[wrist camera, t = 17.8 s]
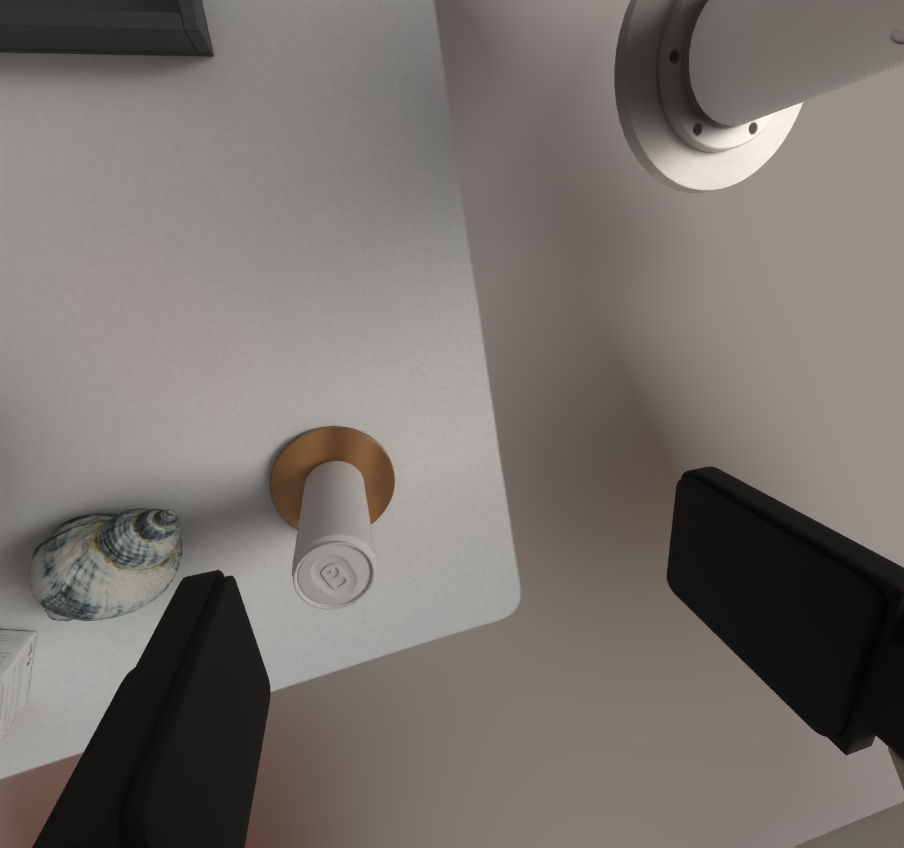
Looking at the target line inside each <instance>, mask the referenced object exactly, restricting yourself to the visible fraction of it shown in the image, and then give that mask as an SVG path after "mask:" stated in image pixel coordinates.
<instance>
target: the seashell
mask: <svg viewBox="0 0 904 848" xmlns="http://www.w3.org/2000/svg"><path fill="white" fill-rule="evenodd" d="M181 556H182V541H181V539H180V524H179V521H178V518H177V513H176V512H175V511H174V510H161V509H152V510H150V509H131V510H127V511H124V512H121V513H119V514H117V515H116V516H114V515H104V514H96V515H85V516H81V517H78V518H75V519H72V520H70V521H68V522H66V523H64V524H63V525H61V526H60V528H58V529H56V530H55V531H54V532H53V533H52V534H51V536H49V537H48V538H47V539H46V541H44V542H43V543H41V544H40V545H39V546H38V547H37V548H36V549H35V551H34V554H33V557H32V562H31V565H30V573H29V577H30V584H31V588H32V591H33V594H34V596H35V598H36V599H37V600H38V601H39V602H40V603H41V605H42V606H43V607H44V608H45V611H46V613H47V615H48V617H50V618H51V619H53V620H58V621H70V620H73V619H77V620H82V621H95V620H102V619H109V618H113V617H117V616H122V615H124V614H127V613H130V612H133V611H135V610H137V609H139V608H142V607H143V606H144V605H146V604H148V603H149V602H151V601H153V600H154V599H155V598H157V597H158V596H159V595H160V594H161V593H163V592H164V591H165V589H166V588H167V587H168V586H169V585H170V583H171V582H172V580H173V578H174V576H175V574H176V572H177V570H178V567H179V564H180V559H181Z"/></svg>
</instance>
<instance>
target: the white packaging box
mask: <svg viewBox="0 0 904 848" xmlns="http://www.w3.org/2000/svg"><path fill="white" fill-rule="evenodd" d="M35 639H36V632H32V631H13V630H0V738H1V737H2V735H3V734H4V733H5V731H6V730H7V729H8V727H9V726H10V725H11V723H12V722H13V720H14V719H15V718H16V716H17V715H18V713H19V712H20V711H21V709H22V708H23V706H24V705H25V703H26V702H27V695H28V689H29V682H30V675H31V668H32V661H33V653H34V647H35Z"/></svg>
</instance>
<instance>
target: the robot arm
mask: <svg viewBox="0 0 904 848" xmlns="http://www.w3.org/2000/svg"><path fill="white" fill-rule="evenodd" d="M903 64H904V0H677V2H676V3H675V5H674V7H673V8H672V10H671V12H670V15H669V17H668V20H667V22H666V25H665V27H664V30H663V34H662V39H661V43H660V47H659V55H658V65H657V73H658V88H659V94H660V100H661V104H662V107H663V109H664V112H665V115H666V118H667V120H668V121H669V123H670V125H671V127H672V128H673V130H674V131H675V132H676V134H677V135H678V136H679V137H680V138H681V139H682V140H683V141H684V142H685V143H687V144H688V145H690V146H691V147H692V148H695V149H698V150H700V151H703V152H711V153H717V152H723V151H728V150H731V149H734V148H737V147H740V146H742V145H744V144H745V143H747V142H749V141H751V140H752V139H754V138H755V137H756V136H757V135H758V134H760V133H761V132H762V131H763V130H764V129H765V128H766V127H767V125H768V124H769V123H770V122H771V121H772V120H773V118H774V117H775V115H776V113H777V112H778V111H780V110H782V109H785V108H788V107H790V106H793V105H796V104H799V103H801V102H804V101H806V100H809V99H812V98H814V97H817V96H820V95H823V94H825V93H828V92H830V91H833V90H836V89H839V88H841V87H844V86H847V85H849V84H852V83H855V82H857V81H860V80H863V79H865V78H868V77H871V76H873V75H876V74H879V73H881V72H884V71H887V70H889V69H892V68H895V67H897V66H900V65H903ZM667 581H668V584H669V586H670V588H671V590H672V591H673V592H674V594H675V595H676V596H677V597H678V598H680V599H681V600H682V601H683V602H684V603H685V604H686V605H687V606H688V607H689V608H690V609H691V610H692V611H693V612H694V613H695V614H696V615H697V616H698V617H699V618H700V619H701V620H702V621H703V622H704V623H705V624H706V625H707V626H708V627H709V628H710V629H711V630H712V631H713V632H714V633H715V634H716V635H717V636H718V637H719V638H720V639H721V640H722V641H723V642H724V643H725V644H726V645H727V646H728V647H729V648H730V649H731V650H733V652H734V653H735V654H736V655H737V656H738V657H740V659H742V661H744V662H745V663H746V664H747V665H748V666H749V667H750V668H751V669H752V670H753V671H754V672H755V673H756V674H757V675H758V676H759V677H760V678H761V679H762V680H763V681H764V682H765V683H766V684H767V685H768V686H769V687H770V688H771V689H772V690H773V691H774V692H775V693H776V694H777V695H778V696H779V697H780V698H781V699H782V700H783V701H784V702H785V703H786V704H787V705H788V706H789V707H790V708H791V709H792V710H793V711H794V712H795V713H796V714H797V715H798V716H799V717H801V719H802V720H803V721H805V723H807V725H809V726H810V727H811V728H812V729H813V730H814V731H815V732H817V733H818V734H820V735H822V736H826V737H828V738H829V739H830V740H831V741H832V742H833V743H834V744H835V745H836V746H837V747H838V748H839V749H840V750H841V751H842V752H843V753H844V754H845V755H848V754H851V753H854V752H857V751H859V750H861V749H864V748H867V747H870V746H871V745H872V743H873V741H874V738H875V736H877V737H878V738H880V739H881V740H882V741H883V742H884V743H885V744H886V745H887V746H888V750H889V753H890V755H891V758H892V760H893V763H894V766H895V768H896V771H897V773H898V776H899V778H900V781H901V783H902V786H903V789H904V568H903V567H901V566H899V565H897V564H896V563H894V562H892V561H890V560H888V559H886V558H884V557H883V556H881V555H879V554H876V553H875V552H873V551H871V550H869V549H867V548H865V547H864V546H862V545H860V544H858V543H856V542H854V541H853V540H851V539H849V538H847V537H845V536H843V535H841V534H839V533H837V532H836V531H834V530H832V529H830V528H828V527H826V526H824V525H823V524H821V523H819V522H817V521H815V520H813V519H811V518H810V517H808V516H806V515H804V514H802V513H800V512H798V511H796V510H794V509H793V508H791V507H789V506H787V505H785V504H783V503H781V502H779V501H778V500H776V499H774V498H772V497H770V496H768V495H766V494H765V493H763V492H761V491H759V490H757V489H755V488H753V487H751V486H750V485H748V484H746V483H744V482H742V481H740V480H738V479H736V478H735V477H733V476H731V475H729V474H727V473H725V472H723V471H721V470H720V469H718V468H715V467H704V468H700V469H695V470H690V471H687V472H685V473H684V474H683V475H682V478H681V480H679V481H678V483H677V486H676V494H675V503H674V513H673V522H672V532H671V540H670V549H669V558H668V568H667ZM269 703H270V682H269V678H268V675H267V672H266V669H265V666H264V663H263V660H262V657H261V654H260V651H259V648H258V645H257V642H256V639H255V636H254V633H253V630H252V628H251V625H250V622H249V619H248V616H247V613H246V610H245V607H244V604H243V601H242V598H241V595H240V592H239V589H238V586H237V583H236V580H235V578H234V577H233V576H226V577H225V576H224V574H223V573H222V572H221V571H219V570H216V571H211V572H206V573H201V574H197V575H192V576H187V577H185V578H183V579H182V581H181V582H180V584H179V586H178V587H177V589H176V591H175V593H174V595H173V597H172V599H171V601H170V603H169V605H168V606H167V608H166V610H165V612H164V614H163V616H162V618H161V620H160V622H159V624H158V625H157V627H156V629H155V631H154V633H153V635H152V637H151V639H150V641H149V643H148V644H147V646H146V648H145V650H144V652H143V654H142V656H141V658H140V660H139V662H138V663H137V665H136V667H135V668H134V669H133V670H131V671H130V672H129V673H128V674H127V675H126V677H125V678H124V680H123V681H122V683H121V685H120V686H119V688H118V690H117V692H116V694H115V696H114V697H113V699H112V701H111V703H110V705H109V707H108V709H107V710H106V712H105V714H104V716H103V718H102V720H101V722H100V723H99V725H98V727H97V729H96V731H95V733H94V734H93V736H92V738H91V740H90V742H89V744H88V746H87V747H86V749H85V751H84V753H83V755H82V757H81V759H80V760H79V762H78V764H77V766H76V768H75V770H74V772H73V773H72V775H71V777H70V779H69V781H68V783H67V784H66V786H65V788H64V790H63V792H62V794H61V796H60V797H59V799H58V801H57V803H56V805H55V807H54V808H53V811H52V812H51V814H50V816H49V818H48V820H47V822H46V824H45V825H44V827H43V829H42V831H41V833H40V835H39V836H38V838H37V840H36V842H35V844H34V846H33V847H32V848H244V847H245V841H246V835H247V830H248V824H249V818H250V813H251V806H252V801H253V795H254V790H255V784H256V778H257V772H258V766H259V761H260V755H261V749H262V743H263V737H264V732H265V726H266V720H267V714H268V709H269ZM792 848H904V802H902V803H899V804H897V805H894V806H892V807H890V808H887V809H885V810H883V811H880V812H877V813H875V814H872V815H870V816H867V817H865V818H863V819H860V820H858V821H855V822H853V823H850V824H848V825H845V826H843V827H840V828H838V829H836V830H833V831H831V832H828V833H826V834H823V835H821V836H819V837H816V838H814V839H811V840H809V841H806V842H804V843H802V844H799V845H797V846H794V847H792Z"/></svg>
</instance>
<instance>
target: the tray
mask: <svg viewBox="0 0 904 848" xmlns="http://www.w3.org/2000/svg"><path fill="white" fill-rule="evenodd" d="M0 52H22V53H73V54H125V55H176V56H214V54H213V49H212V45H211V40H210V36H209V31H208V26H207V22H206V17H205V12H204V8H203V3H202V0H0Z"/></svg>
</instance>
